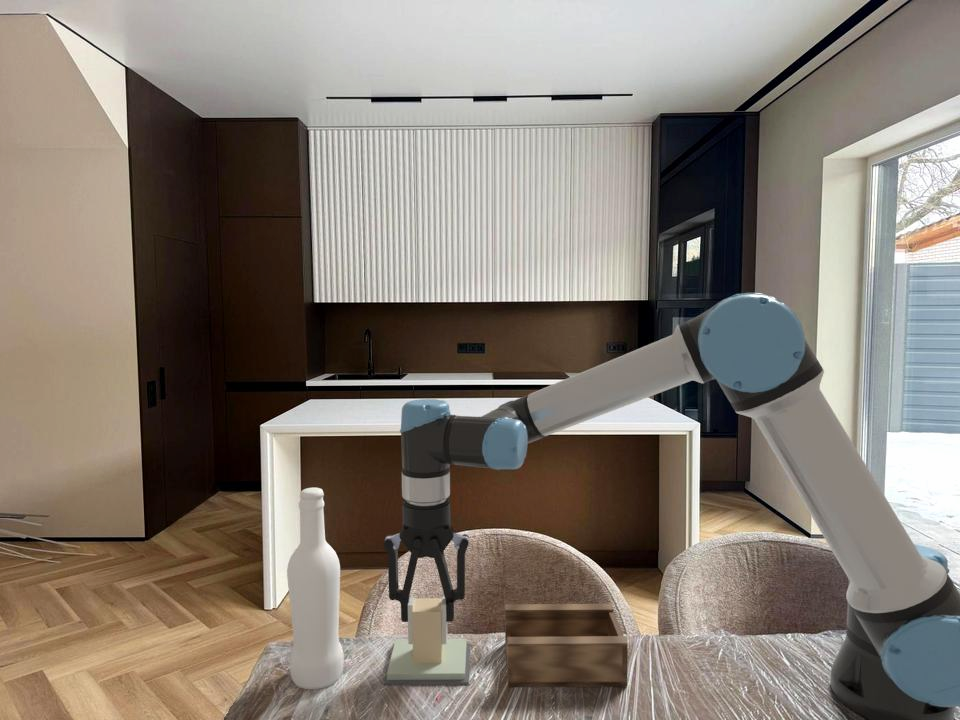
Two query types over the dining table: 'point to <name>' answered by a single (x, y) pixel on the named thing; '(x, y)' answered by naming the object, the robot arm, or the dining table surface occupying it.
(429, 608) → the lid
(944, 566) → the robot arm
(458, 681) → the mat
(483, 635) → the dining table surface
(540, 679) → the walnut box
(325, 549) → the bottle
